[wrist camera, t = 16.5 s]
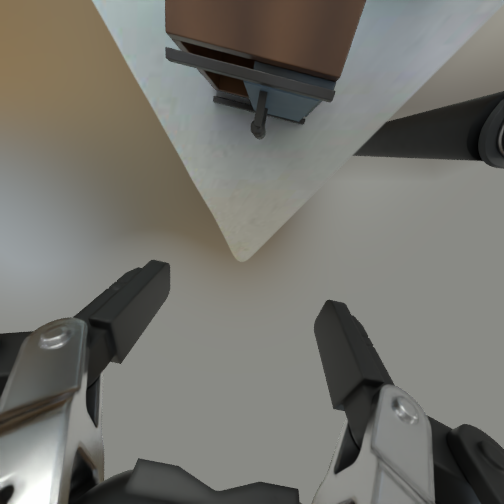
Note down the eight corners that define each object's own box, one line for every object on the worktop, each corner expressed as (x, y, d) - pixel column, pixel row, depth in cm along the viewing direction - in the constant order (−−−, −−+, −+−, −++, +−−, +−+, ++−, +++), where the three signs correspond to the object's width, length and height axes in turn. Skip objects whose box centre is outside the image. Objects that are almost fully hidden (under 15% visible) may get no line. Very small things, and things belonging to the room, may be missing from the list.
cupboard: (332, 23, 25) (416, -147, 11) (303, 124, 30) (332, 100, 16) (223, -7, 24) (161, -225, 10) (214, 102, 30) (165, 57, 16)
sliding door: (300, 117, 29) (321, 93, 17) (291, 148, 31) (305, 146, 19) (254, 105, 28) (244, 73, 17) (248, 138, 31) (236, 129, 19)
